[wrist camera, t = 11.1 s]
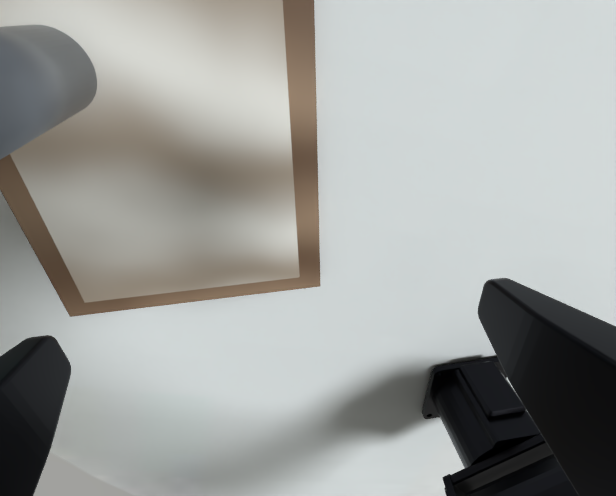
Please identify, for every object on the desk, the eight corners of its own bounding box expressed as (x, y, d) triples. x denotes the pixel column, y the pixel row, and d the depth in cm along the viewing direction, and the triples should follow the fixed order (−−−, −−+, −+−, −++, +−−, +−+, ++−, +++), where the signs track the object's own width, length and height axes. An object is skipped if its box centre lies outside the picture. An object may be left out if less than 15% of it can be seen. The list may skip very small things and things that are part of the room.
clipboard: (318, 280, 22) (323, 297, 20) (74, 309, 20) (62, 329, 19) (307, -150, 12) (315, -171, 10) (-171, -151, 10) (-232, -175, 9)
